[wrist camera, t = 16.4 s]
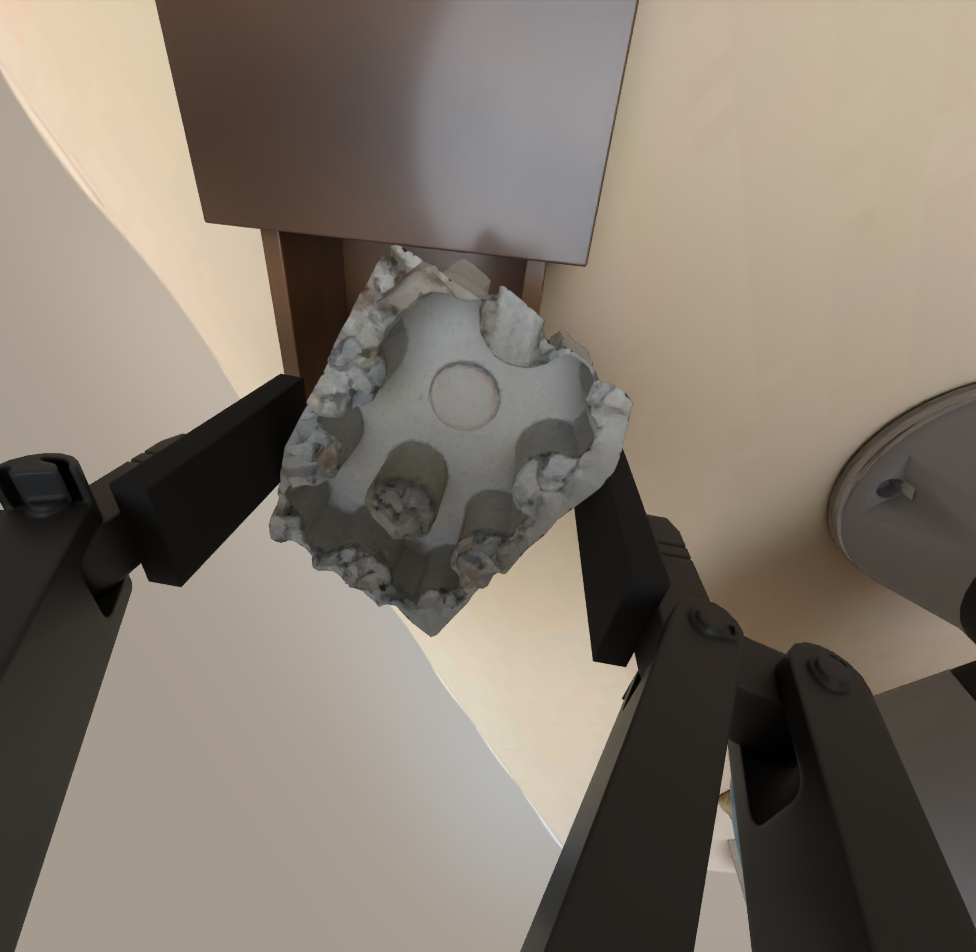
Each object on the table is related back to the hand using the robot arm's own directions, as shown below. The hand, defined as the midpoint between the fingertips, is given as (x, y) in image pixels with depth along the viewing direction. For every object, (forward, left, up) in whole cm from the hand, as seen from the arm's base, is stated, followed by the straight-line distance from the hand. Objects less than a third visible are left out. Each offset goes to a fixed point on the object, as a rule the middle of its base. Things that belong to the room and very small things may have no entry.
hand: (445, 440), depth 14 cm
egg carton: (0, 0, 0) cm, 0 cm away
